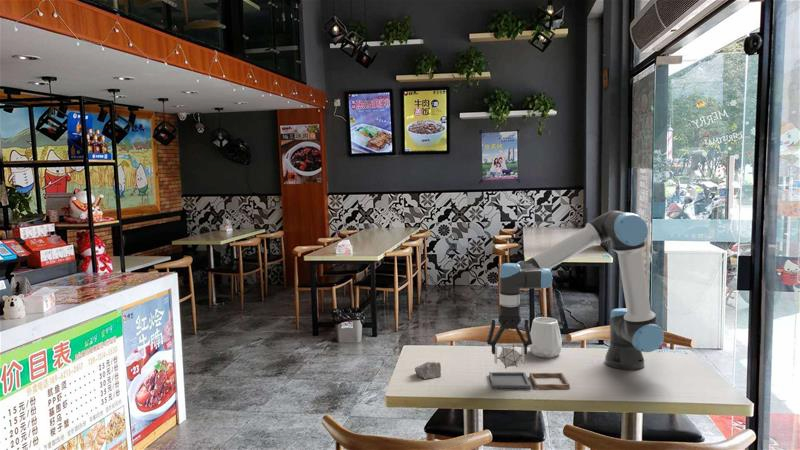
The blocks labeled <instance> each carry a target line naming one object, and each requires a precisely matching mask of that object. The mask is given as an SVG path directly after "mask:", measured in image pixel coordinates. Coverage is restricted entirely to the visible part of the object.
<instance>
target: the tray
mask: <svg viewBox="0 0 800 450" xmlns="http://www.w3.org/2000/svg"><path fill="white" fill-rule="evenodd" d="M488 377H489V379H490V380H489V382H490V384H491V387H492V390H532V385H531V382H530V380H529V378H528V375H527V374H526V372H524V371H503V372H502V371H499V372H498V371H489V372H488Z"/></svg>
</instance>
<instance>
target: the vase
mask: <svg viewBox="0 0 800 450" xmlns="http://www.w3.org/2000/svg"><path fill="white" fill-rule="evenodd" d="M559 326H560V325H559V322H558V319H556V318H554V317H547V316H546V317H545V316H540V317H534V318H533V320H532V323H531V328H530V331H529V332H530V336H531V340H532V344H531V345H528V346H529V350H530V352H531V354H532V355H533V356H536V357H539V358H547V359H549V358H554V357H557V356H559V355H560V353H561V351H562V346H563V345H562V343H563V342H562V341H563V340H562V336H561V330H560V327H559Z"/></svg>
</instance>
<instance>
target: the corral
mask: <svg viewBox="0 0 800 450" xmlns="http://www.w3.org/2000/svg"><path fill="white" fill-rule="evenodd" d="M529 378H530V381H531V383H532V384H533V386H534V389H537V390H538V389H539V390H540V389H541V390H544V389H545V390H546V389H547V390H548V389H550V390H552V389H553V390H555V389H556V390H564V389H565V390H568V389H570V388H571V386H570V383H569V382H568V380H567V378H566V377H565V375H564V373H563V372H529ZM535 378H560V379H561V381H562V382H563V383H537V381H536V379H535Z"/></svg>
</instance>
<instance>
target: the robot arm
mask: <svg viewBox="0 0 800 450" xmlns="http://www.w3.org/2000/svg"><path fill="white" fill-rule="evenodd" d="M648 234H649V228H648V224H647V222H646V221H645V219H644V218H643V217H641V216H640V215H638V214H637V213H633V212H627V211H625V212H624V211H621V210H611V211H608V212H604V213H603V214H601V215H599V216H597V217H596V218H594V219H592V220H591V221H588V222H587V223H586V224H585V226H584V227H583V228H582V229H580V230H578V231H576V232H575V233H573V234H571V235H569V236H567V237H566V238H564V239H562V240H561V241H558V242H557V243H555V244H554V245H552V246H549V247H548V248H547V249H545V250H543V251H541V252H539V253H538V254H535V255H534V256H532V257H531V258H529V259H526V260H520V261H518V262H516V263H515V262H506V263H502V264H501V265H500V268H499V304H500V305H499V316H498V318H494V317H492V318H491V319H490V320H491V321H490V323H491V324H490V328H489V331H488V335H487V339H486V343H487V345H488V346H491V353H492V354H491V355H494V359H493V360H494V364H498V359H497V357H498V345H497V343H498V341H499V339H500V338H501V337H502V334H503V333H504V332H505V330H515V331H516V333H517V335H518V337H519V338H520V340H521V342H522V344H520V346H521V347H520V355H522V356H520V362H521V364H525V355H527V354H528V346H529V345H531V344H532V340H531V336H530V332H531V331H530V330H529V319H528V318H527V317H524V318H521V316H520V315H521V314H520V313H521V312H520V311H521V310H520V308H521V307H520V304H521V289H522V290H523V289H524V290H525V289H526V290H527V289H541V290H542V289H546V288H547V289H549V288H550V287H551V286H552V284H553V272H552V271H551V269H553V268H554V267H557V266H558V265H560V264H561V263H563V262H565V261H568V260H569V259H571V258H572V257H574V256H576V255H577V254H580V253H581V252H583V251H584V250H586V249H588V248H590V247H591V246H594V245H600V244H602V243H605V242H608V241H610V242H611V247H612V251H614V252H616V254H617V259H618V264H619V272H620V277H621V284H622V288H623V289H622V290H623V295H624V302H625V308H623V307H621V308H620V307H619V308H614V309H612V310H611V311H610V317H609V319H610V323H609V324H610V326H609V329H610V330H609V335H610V336H609V346H608V349H607V351H606V354H605V359H604V360H605V361H604V363H605V364H606V365H607V366H609V367H612V368H615V369H621V370H627V371H628V370H630V371H632V370H633V371H634V370H640V369H642V368H644V367H645V358H644V355H643V353H651V352H652V353H653V352H655V351H657V350H658V349H659V348H660V347H661V345H663V343H664V340H665V333H664V330H663V329H662V327H661V326H660V325H658V321H657V316H656V313H655V312H654V311H652V310H651V304H650V300H649V299H650V297H649V290H648V284H647V279H646V273H645V272H646V271H645V266H644V261H643V260H644V258H643V252H642V250H643V249H644V248H645V246H646V245H645V244H646V243H645V241H646V238H647V237H648ZM498 323H499V324H500V326H499V329H498V330H497V332H496V334H495V336H494V332H495V328H496V325H497V324H498ZM520 323H522V325H523V327H524V332H525V335H526V339H527V340H526V339H525V338H524V336H523V334H522V332H521V330H520V328H519V325H520Z"/></svg>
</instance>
